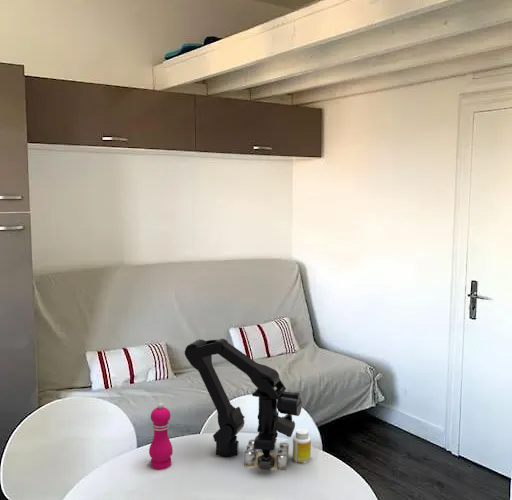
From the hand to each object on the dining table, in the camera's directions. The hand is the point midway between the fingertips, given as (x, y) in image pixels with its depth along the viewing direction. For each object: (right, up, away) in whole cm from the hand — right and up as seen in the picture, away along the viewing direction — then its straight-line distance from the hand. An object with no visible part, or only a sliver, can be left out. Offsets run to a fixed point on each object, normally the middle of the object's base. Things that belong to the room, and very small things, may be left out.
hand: (267, 457), depth 181 cm
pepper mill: (-33, -2, -1) cm, 33 cm away
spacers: (0, -1, 0) cm, 1 cm away
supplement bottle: (+11, -2, +2) cm, 11 cm away
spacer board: (0, -2, -2) cm, 3 cm away
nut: (0, -1, -3) cm, 3 cm away
